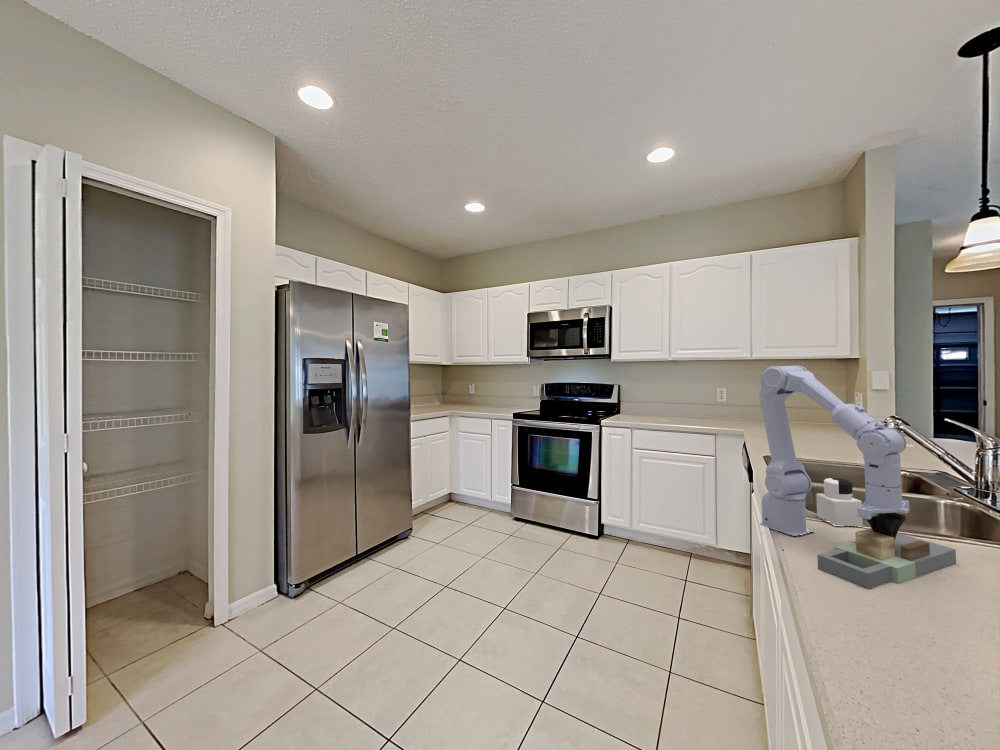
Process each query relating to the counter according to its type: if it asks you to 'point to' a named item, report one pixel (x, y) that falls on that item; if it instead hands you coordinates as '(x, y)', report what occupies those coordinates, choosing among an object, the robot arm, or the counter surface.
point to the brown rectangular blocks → (912, 549)
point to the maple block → (875, 545)
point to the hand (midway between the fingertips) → (885, 546)
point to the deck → (883, 563)
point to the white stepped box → (838, 503)
